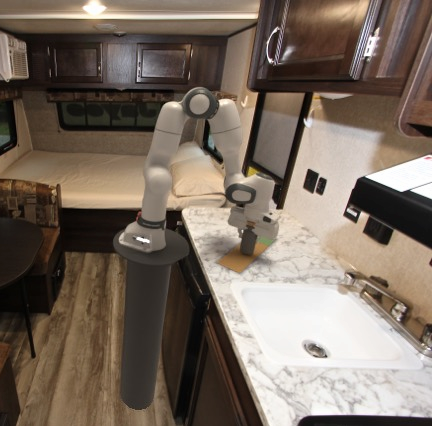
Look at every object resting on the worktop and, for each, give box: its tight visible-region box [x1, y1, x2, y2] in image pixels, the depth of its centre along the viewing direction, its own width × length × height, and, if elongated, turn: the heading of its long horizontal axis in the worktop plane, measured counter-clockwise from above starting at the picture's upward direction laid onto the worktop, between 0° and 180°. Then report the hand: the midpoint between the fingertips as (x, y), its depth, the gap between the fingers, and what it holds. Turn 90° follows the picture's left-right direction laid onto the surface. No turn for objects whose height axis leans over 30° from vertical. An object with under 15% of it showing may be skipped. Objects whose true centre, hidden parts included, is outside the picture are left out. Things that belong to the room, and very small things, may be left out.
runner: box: [216, 243, 269, 274], centre depth 130 cm, size 31×10×1 cm, turn 134°
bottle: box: [239, 221, 257, 255], centre depth 127 cm, size 6×6×15 cm
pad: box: [257, 235, 277, 247], centre depth 143 cm, size 10×10×1 cm
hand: (248, 240), depth 128 cm, fingers closed on bottle, 5 cm apart
